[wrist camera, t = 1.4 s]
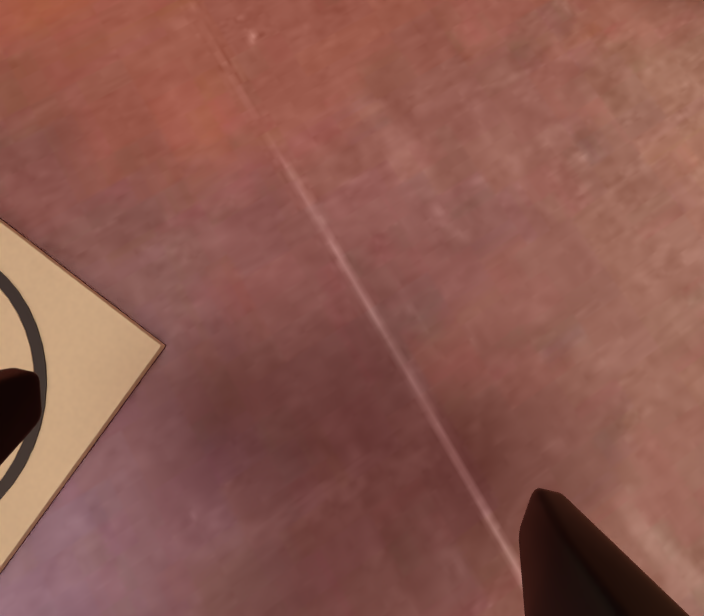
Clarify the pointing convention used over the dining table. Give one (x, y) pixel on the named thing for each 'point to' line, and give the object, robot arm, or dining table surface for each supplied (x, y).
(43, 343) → the board
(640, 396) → the dining table surface
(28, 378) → the robot arm
